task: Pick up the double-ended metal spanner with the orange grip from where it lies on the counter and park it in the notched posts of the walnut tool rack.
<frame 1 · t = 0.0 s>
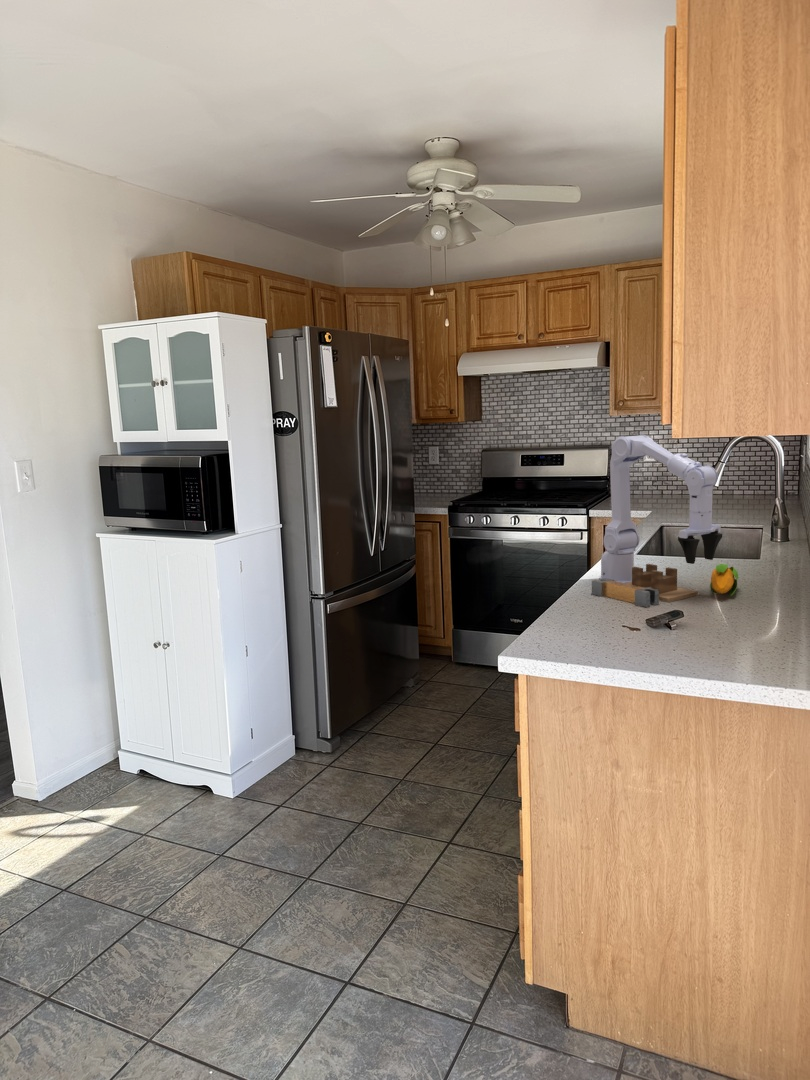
hand: (699, 561, 207), 10 cm above the counter, fingers open, 7 cm apart
spanner: (624, 599, 210), on the counter
tool rack: (654, 592, 216), on the counter
corn: (723, 594, 212), on the counter
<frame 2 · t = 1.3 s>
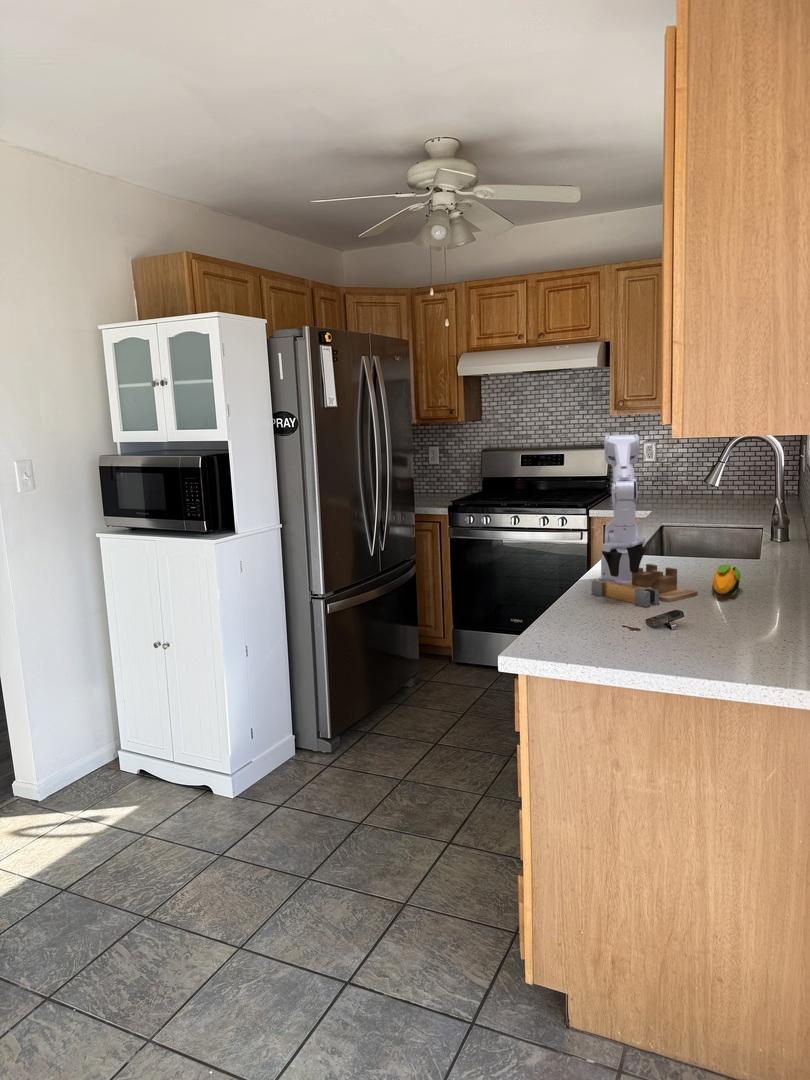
hand: (624, 574, 209), 7 cm above the counter, fingers open, 7 cm apart
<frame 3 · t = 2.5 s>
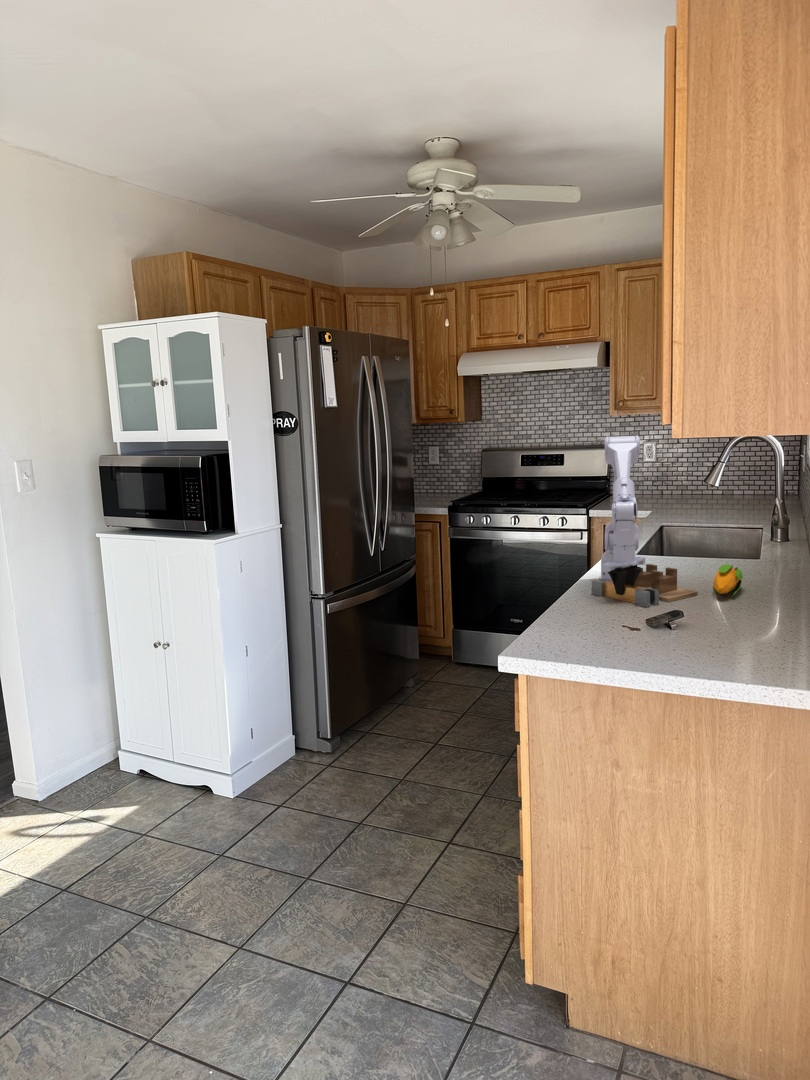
hand: (624, 593, 210), 2 cm above the counter, fingers closed on spanner, 3 cm apart
spanner: (624, 599, 210), on the counter, touching gripper
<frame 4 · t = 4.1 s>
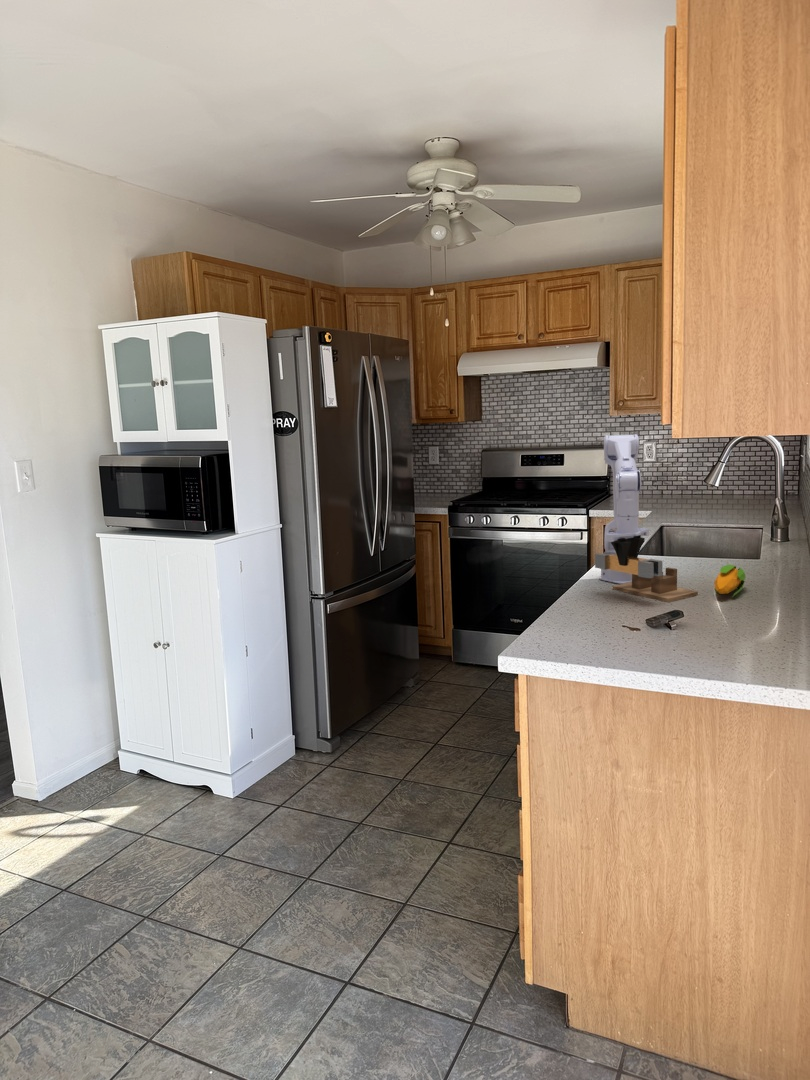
hand: (627, 564, 209), 10 cm above the counter, fingers closed on spanner, 3 cm apart
spanner: (627, 571, 210), point 8 cm above the counter, touching gripper
when the fingers open (8 cm above the counter, at t = 5.6 s): spanner stays where it is, resting on tool rack.
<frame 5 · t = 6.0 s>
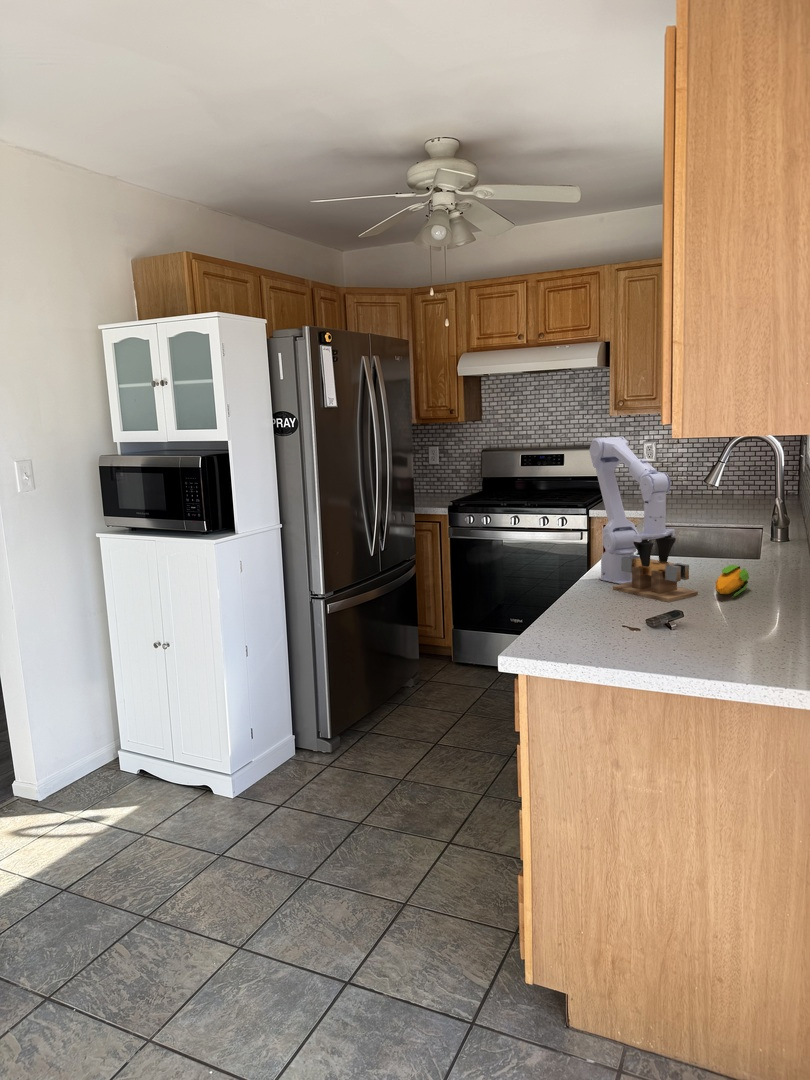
hand: (654, 564, 215), 8 cm above the counter, fingers open, 7 cm apart
spanner: (654, 574, 216), point 5 cm above the counter, touching tool rack
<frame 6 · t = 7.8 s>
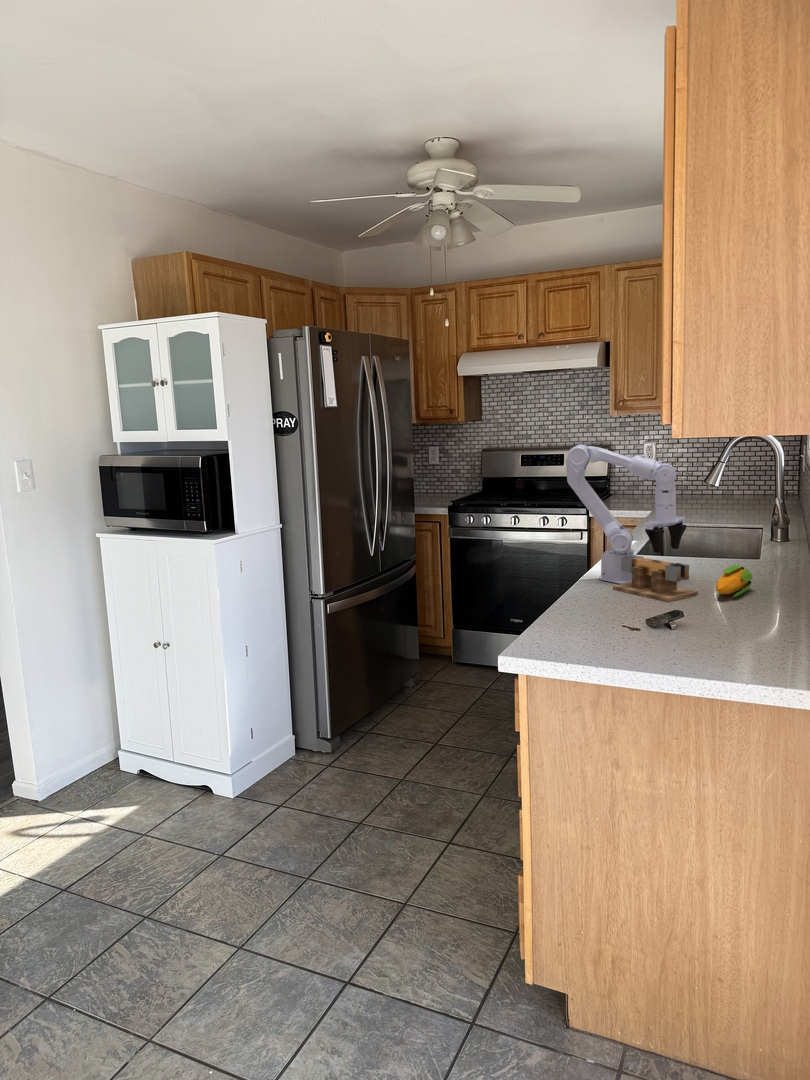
hand: (666, 550, 226), 10 cm above the counter, fingers open, 7 cm apart
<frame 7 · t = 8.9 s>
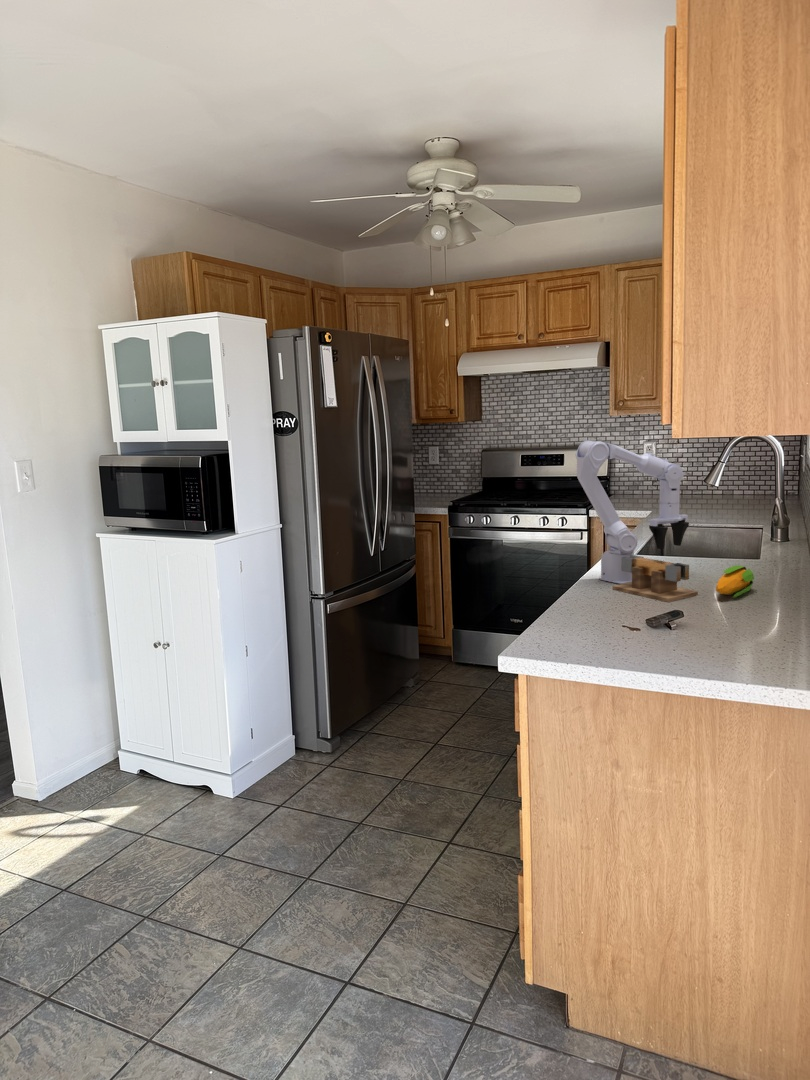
hand: (668, 547, 232), 9 cm above the counter, fingers open, 7 cm apart
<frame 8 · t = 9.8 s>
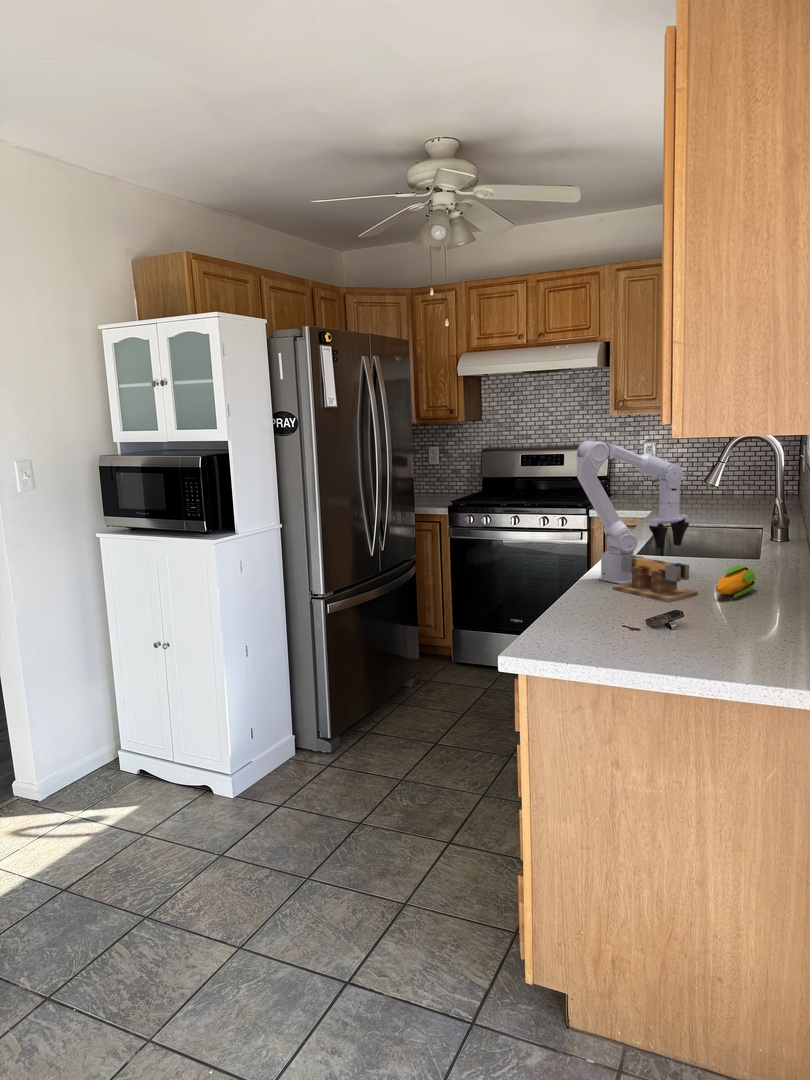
hand: (668, 547, 232), 9 cm above the counter, fingers open, 7 cm apart
at the end: spanner 0.1 cm off-centre on the tool rack, point 5.0 cm above the tool rack's base; spanner tilted 0°; the gripper is holding nothing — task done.
